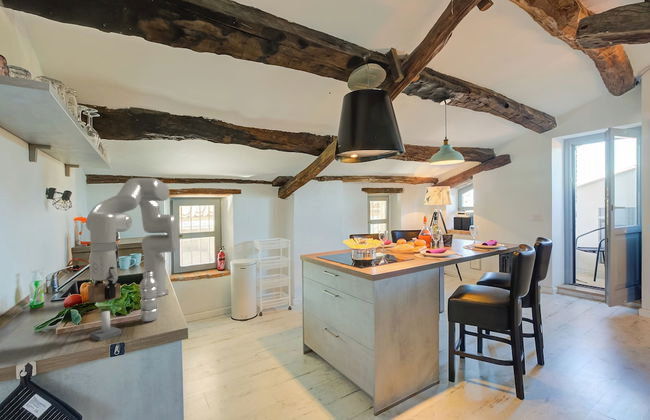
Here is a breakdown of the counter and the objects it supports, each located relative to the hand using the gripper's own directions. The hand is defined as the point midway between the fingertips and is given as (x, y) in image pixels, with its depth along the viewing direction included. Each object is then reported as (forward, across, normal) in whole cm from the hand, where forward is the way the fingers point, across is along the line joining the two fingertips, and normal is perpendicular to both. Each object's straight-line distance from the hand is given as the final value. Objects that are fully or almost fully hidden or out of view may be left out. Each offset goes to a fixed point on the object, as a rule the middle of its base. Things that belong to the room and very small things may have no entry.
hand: (104, 296), depth 108 cm
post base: (+14, 0, 0) cm, 14 cm away
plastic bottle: (+14, 0, +16) cm, 21 cm away
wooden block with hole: (+1, 0, 0) cm, 1 cm away
